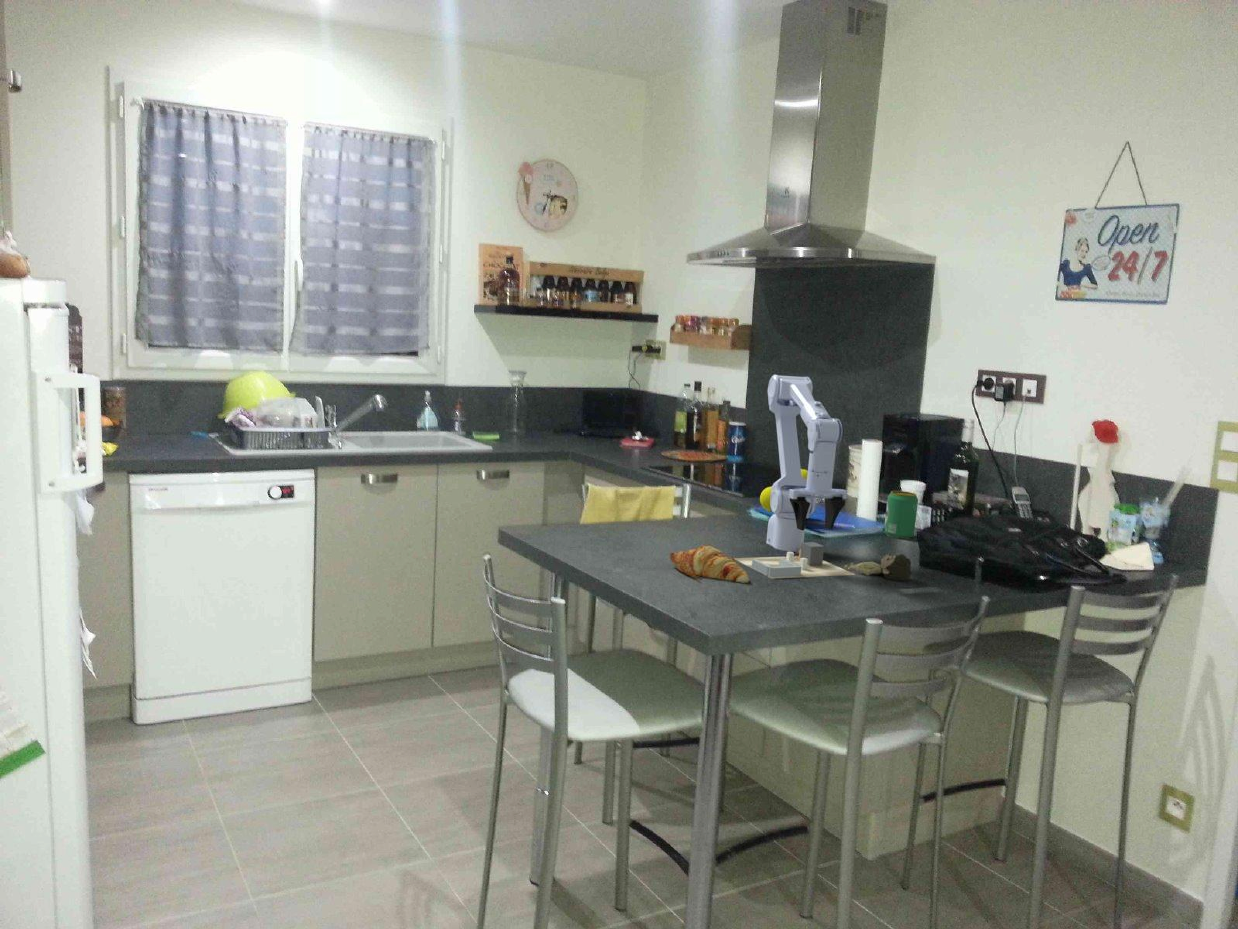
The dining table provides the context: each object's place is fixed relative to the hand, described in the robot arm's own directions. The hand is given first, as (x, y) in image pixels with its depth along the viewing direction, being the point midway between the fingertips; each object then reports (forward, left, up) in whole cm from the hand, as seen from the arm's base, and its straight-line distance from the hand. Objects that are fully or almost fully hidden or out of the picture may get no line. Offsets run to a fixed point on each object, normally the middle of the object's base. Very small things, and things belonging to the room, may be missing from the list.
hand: (814, 529), depth 233 cm
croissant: (+3, -29, -10) cm, 31 cm away
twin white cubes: (+1, -5, -8) cm, 10 cm away
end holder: (+5, -13, -8) cm, 16 cm away
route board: (+2, -6, -9) cm, 11 cm away
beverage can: (-28, +47, -9) cm, 55 cm away
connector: (-2, 0, -8) cm, 8 cm away
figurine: (+10, +11, -10) cm, 18 cm away
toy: (-48, +25, -9) cm, 55 cm away
